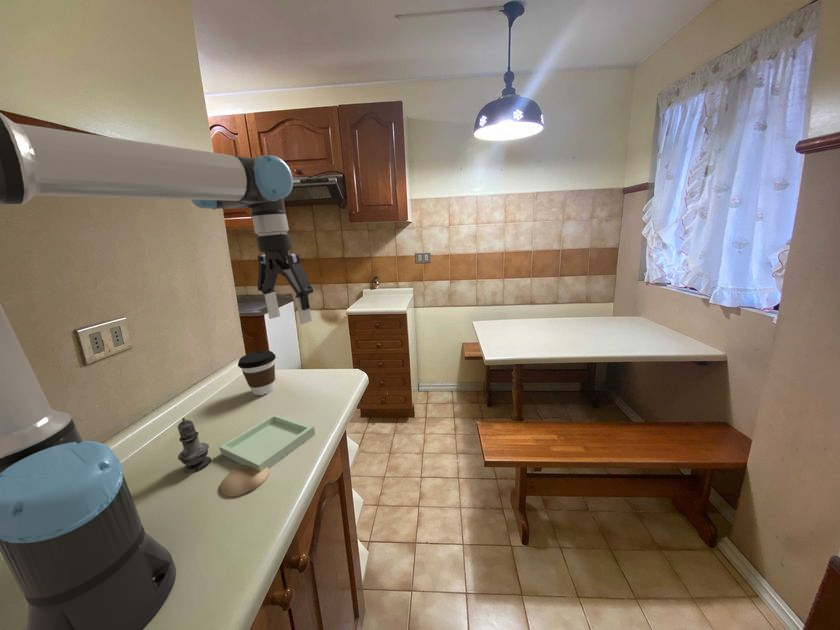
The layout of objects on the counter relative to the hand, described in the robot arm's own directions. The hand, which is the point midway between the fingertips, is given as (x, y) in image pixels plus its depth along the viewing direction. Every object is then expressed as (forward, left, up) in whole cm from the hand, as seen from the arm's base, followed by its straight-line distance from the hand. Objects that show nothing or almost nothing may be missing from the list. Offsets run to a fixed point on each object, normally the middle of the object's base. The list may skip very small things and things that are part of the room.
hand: (289, 319), depth 86 cm
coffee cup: (+4, +25, -27) cm, 37 cm away
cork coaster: (-24, -8, -27) cm, 37 cm away
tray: (-14, -2, -27) cm, 30 cm away
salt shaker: (-26, +7, -27) cm, 38 cm away
